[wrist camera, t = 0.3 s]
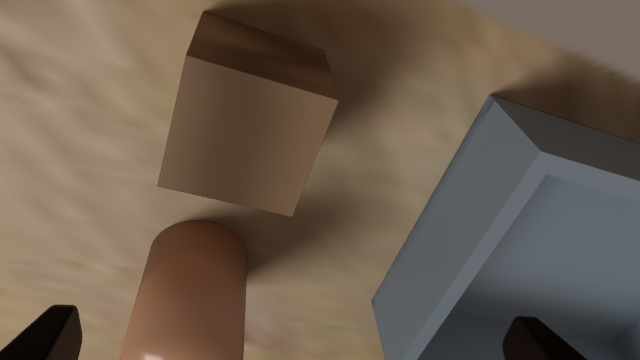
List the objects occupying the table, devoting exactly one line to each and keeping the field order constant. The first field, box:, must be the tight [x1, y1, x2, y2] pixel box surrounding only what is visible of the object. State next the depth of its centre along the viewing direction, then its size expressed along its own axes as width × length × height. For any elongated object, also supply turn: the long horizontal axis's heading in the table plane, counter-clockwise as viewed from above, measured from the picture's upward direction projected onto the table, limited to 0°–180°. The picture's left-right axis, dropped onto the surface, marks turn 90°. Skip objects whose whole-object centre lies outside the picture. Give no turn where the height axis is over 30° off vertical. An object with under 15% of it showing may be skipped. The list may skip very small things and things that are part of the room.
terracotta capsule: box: [119, 221, 248, 360], centre depth 23 cm, size 5×5×7 cm
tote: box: [371, 95, 640, 360], centre depth 26 cm, size 18×14×5 cm
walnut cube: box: [157, 12, 339, 217], centre depth 19 cm, size 5×5×5 cm
